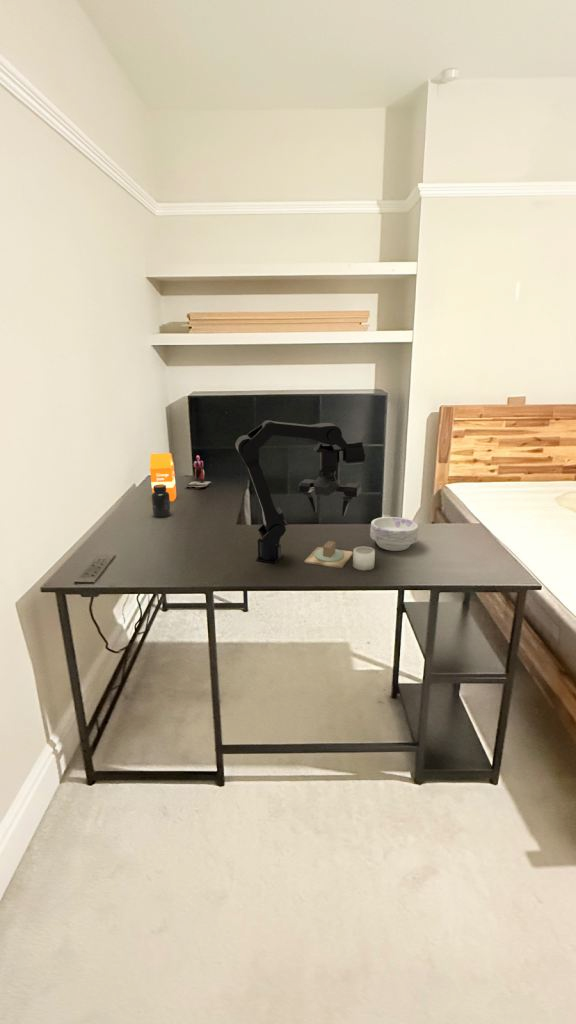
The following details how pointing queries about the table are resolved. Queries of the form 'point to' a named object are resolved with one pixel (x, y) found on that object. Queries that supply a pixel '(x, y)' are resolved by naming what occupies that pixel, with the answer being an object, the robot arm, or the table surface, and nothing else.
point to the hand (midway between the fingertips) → (329, 514)
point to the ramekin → (363, 558)
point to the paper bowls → (394, 533)
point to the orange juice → (163, 472)
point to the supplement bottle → (161, 501)
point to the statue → (198, 475)
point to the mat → (337, 564)
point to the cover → (329, 553)
